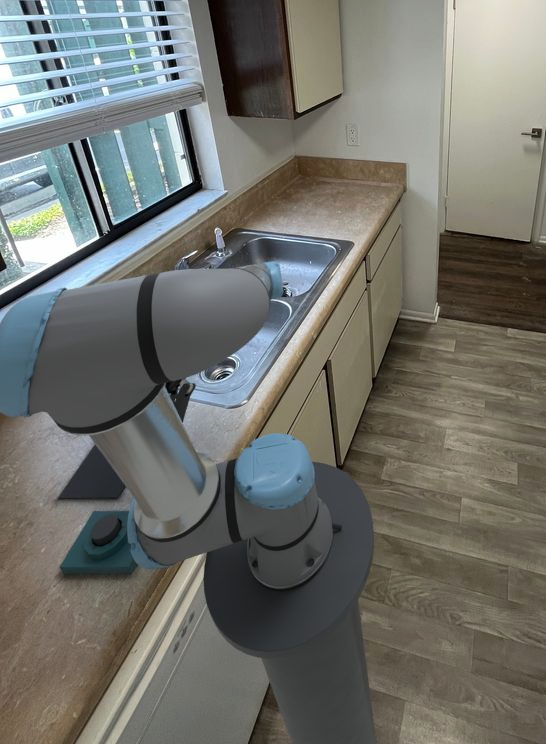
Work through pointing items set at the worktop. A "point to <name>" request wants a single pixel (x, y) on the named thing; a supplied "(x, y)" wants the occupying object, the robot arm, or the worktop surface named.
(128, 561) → the teal pump base
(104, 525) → the button
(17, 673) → the worktop surface
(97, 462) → the mat
